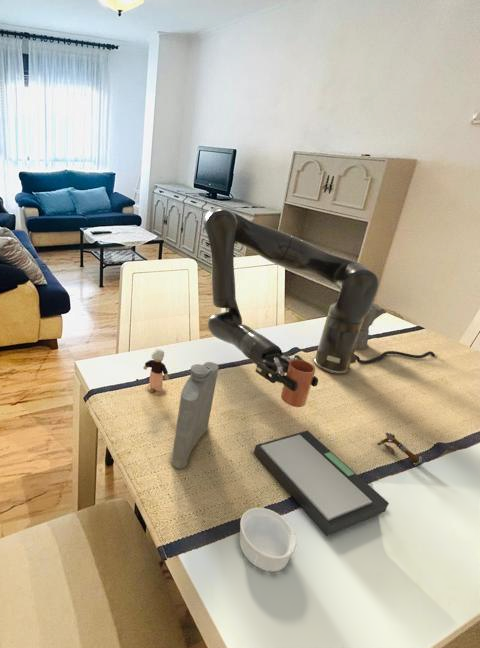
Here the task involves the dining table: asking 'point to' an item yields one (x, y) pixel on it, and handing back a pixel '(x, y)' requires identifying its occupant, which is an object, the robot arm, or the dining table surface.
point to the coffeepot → (367, 325)
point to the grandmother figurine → (157, 372)
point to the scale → (320, 482)
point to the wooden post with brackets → (401, 447)
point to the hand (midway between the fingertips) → (306, 385)
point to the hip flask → (194, 411)
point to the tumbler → (298, 382)
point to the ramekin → (266, 539)
